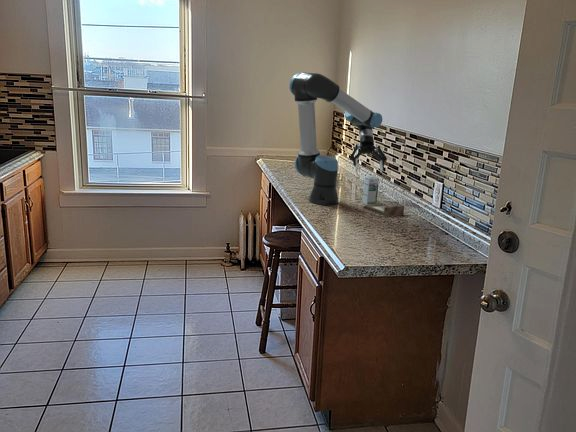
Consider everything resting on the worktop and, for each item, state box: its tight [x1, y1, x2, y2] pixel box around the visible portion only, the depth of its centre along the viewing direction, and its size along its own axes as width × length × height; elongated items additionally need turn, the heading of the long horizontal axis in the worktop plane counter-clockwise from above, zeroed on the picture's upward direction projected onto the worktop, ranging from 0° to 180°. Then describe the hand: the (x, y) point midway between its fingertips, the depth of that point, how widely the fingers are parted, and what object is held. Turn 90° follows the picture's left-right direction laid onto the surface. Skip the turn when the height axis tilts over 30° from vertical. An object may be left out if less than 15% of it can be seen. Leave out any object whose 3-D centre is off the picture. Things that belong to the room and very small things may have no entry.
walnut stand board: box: [363, 203, 405, 217], centre depth 255 cm, size 12×16×4 cm
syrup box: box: [361, 175, 380, 206], centre depth 267 cm, size 6×6×14 cm
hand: (369, 170), depth 274 cm, fingers open, 13 cm apart
